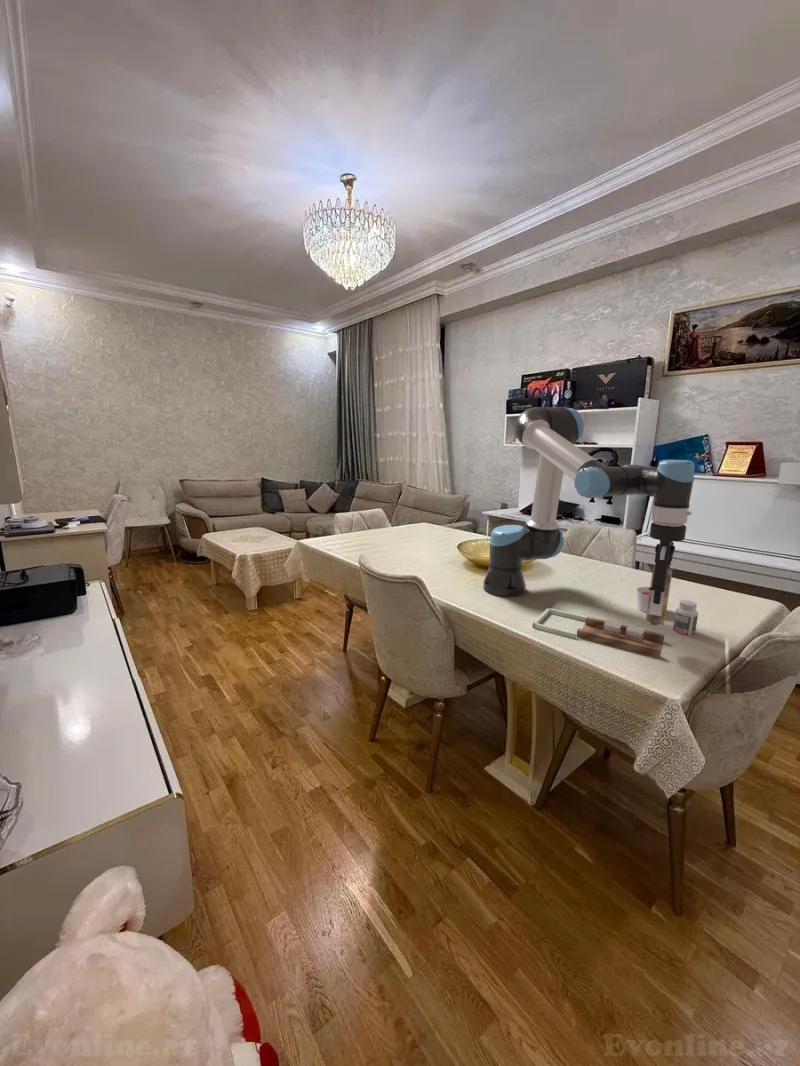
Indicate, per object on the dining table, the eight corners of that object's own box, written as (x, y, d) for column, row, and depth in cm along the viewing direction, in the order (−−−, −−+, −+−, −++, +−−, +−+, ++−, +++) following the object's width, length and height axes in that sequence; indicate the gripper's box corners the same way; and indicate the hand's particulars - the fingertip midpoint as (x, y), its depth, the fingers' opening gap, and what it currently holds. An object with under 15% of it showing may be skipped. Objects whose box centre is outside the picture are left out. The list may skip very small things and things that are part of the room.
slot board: (576, 639, 120) (577, 630, 120) (585, 625, 129) (586, 616, 128) (658, 661, 109) (660, 651, 108) (663, 644, 117) (664, 634, 117)
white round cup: (657, 604, 144) (659, 587, 143) (671, 616, 136) (674, 597, 134) (629, 604, 145) (631, 586, 143) (642, 615, 136) (644, 596, 135)
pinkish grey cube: (624, 643, 116) (626, 629, 115) (626, 637, 119) (628, 624, 118) (641, 647, 114) (643, 633, 113) (643, 641, 117) (645, 628, 116)
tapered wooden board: (645, 623, 111) (651, 571, 108) (648, 614, 116) (655, 564, 113) (663, 627, 108) (670, 574, 105) (665, 617, 114) (673, 567, 111)
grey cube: (602, 637, 119) (603, 624, 118) (605, 632, 123) (607, 619, 122) (618, 641, 117) (619, 628, 116) (620, 636, 120) (622, 623, 119)
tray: (532, 630, 126) (532, 623, 125) (547, 614, 137) (547, 607, 136) (574, 642, 119) (575, 634, 119) (587, 624, 130) (587, 616, 130)
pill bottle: (685, 629, 126) (690, 598, 124) (699, 638, 121) (704, 606, 119) (668, 630, 126) (672, 599, 124) (680, 638, 121) (685, 606, 118)
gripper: (683, 532, 97) (670, 627, 102) (689, 518, 112) (676, 600, 117) (645, 528, 101) (634, 619, 106) (656, 515, 117) (645, 595, 122)
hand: (656, 609), depth 112 cm, fingers closed on tapered wooden board, 7 cm apart
